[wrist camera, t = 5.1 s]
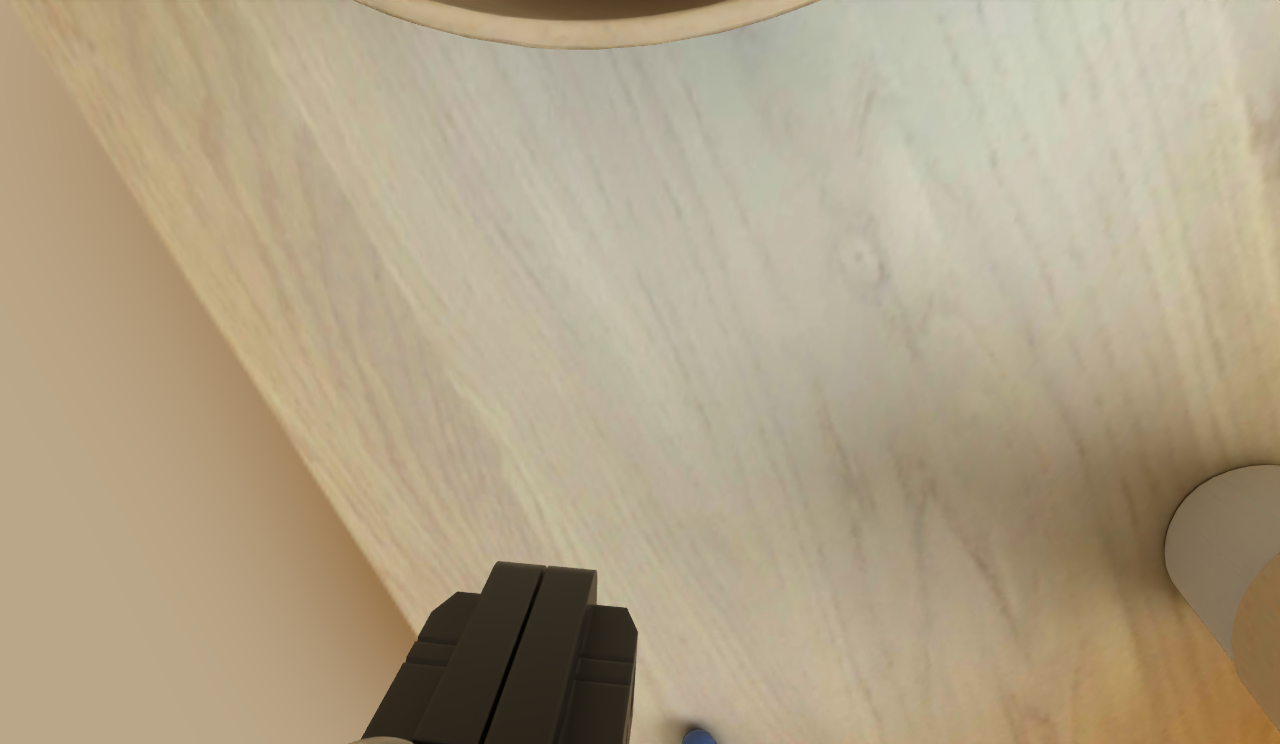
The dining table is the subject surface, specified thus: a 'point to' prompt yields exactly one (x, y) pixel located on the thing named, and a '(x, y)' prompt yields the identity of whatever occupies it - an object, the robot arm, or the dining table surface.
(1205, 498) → the coffee cup
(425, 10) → the plant pot
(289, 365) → the dining table surface
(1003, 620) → the dining table surface
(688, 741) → the blue spoon
